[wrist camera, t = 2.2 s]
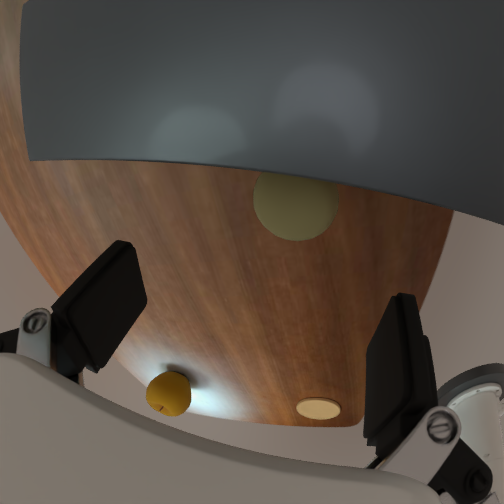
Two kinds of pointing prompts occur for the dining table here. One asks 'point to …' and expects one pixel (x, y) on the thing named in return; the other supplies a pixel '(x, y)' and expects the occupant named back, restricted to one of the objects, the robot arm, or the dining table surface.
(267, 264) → the dining table surface
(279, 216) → the pepper shaker
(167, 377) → the apple
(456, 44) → the green box with lid
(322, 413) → the cork mat
